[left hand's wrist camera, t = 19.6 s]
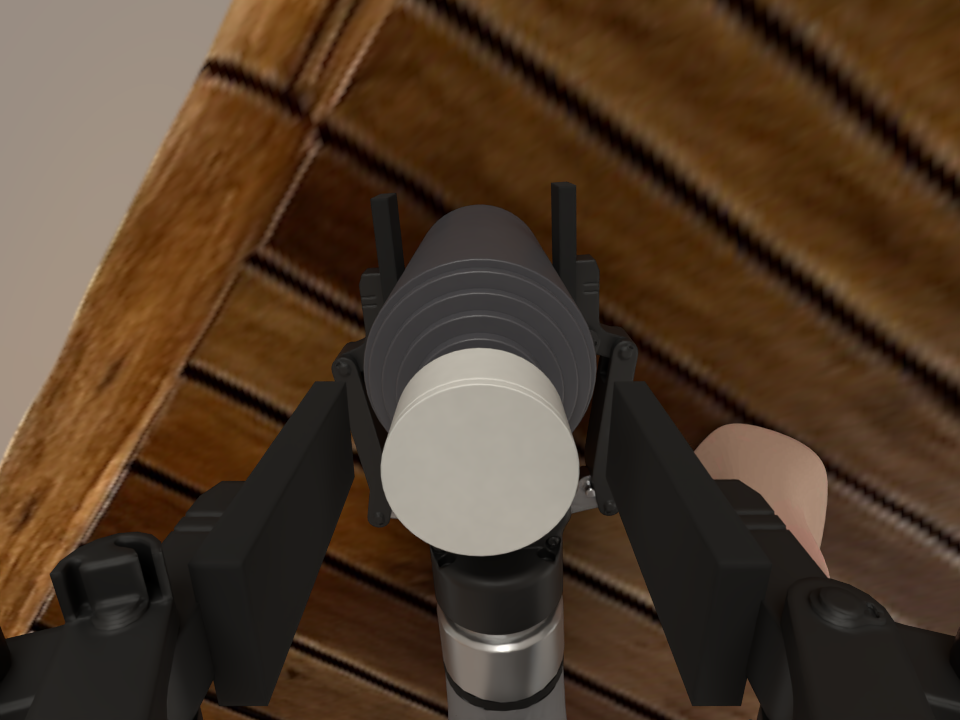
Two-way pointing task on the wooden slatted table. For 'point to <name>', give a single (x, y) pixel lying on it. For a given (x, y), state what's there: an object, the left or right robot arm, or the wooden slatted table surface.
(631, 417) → the left robot arm
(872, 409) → the wooden slatted table surface
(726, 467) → the anatomical model
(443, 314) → the bottle
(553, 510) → the cap
